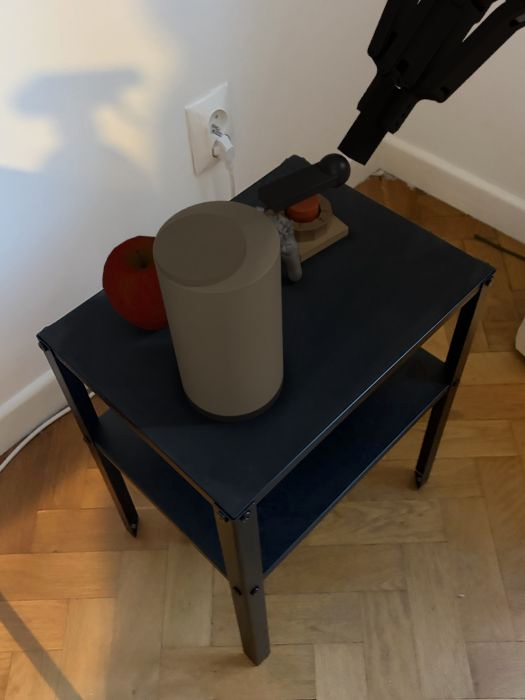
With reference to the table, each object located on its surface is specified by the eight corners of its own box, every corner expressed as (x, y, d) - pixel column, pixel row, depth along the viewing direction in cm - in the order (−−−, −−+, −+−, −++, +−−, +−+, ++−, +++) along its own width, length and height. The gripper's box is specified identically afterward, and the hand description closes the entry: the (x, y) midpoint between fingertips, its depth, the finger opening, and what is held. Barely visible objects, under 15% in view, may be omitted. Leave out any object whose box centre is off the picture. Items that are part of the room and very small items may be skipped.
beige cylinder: (303, 385, 72) (306, 243, 56) (220, 441, 68) (198, 307, 52) (244, 323, 76) (230, 176, 60) (163, 372, 73) (127, 230, 57)
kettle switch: (355, 187, 61) (360, 159, 59) (276, 224, 58) (278, 196, 56) (333, 170, 63) (337, 142, 60) (255, 205, 59) (256, 177, 57)
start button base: (348, 234, 84) (349, 215, 81) (300, 263, 81) (300, 244, 79) (304, 197, 87) (304, 178, 85) (257, 223, 85) (256, 204, 83)
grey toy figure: (316, 269, 80) (318, 218, 74) (242, 335, 75) (238, 286, 69) (255, 231, 84) (251, 179, 78) (180, 291, 79) (171, 241, 73)
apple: (179, 280, 80) (165, 206, 72) (210, 334, 76) (199, 262, 67) (105, 308, 78) (82, 236, 70) (133, 365, 74) (111, 296, 65)
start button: (325, 213, 82) (325, 202, 80) (300, 228, 81) (300, 216, 79) (304, 197, 84) (305, 185, 82) (280, 210, 82) (279, 199, 81)
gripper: (626, -68, 52) (425, 208, 60) (489, -127, 58) (324, 131, 67) (602, -127, 46) (383, 189, 54) (452, -186, 52) (276, 106, 61)
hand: (351, 157), depth 61 cm, fingers closed
